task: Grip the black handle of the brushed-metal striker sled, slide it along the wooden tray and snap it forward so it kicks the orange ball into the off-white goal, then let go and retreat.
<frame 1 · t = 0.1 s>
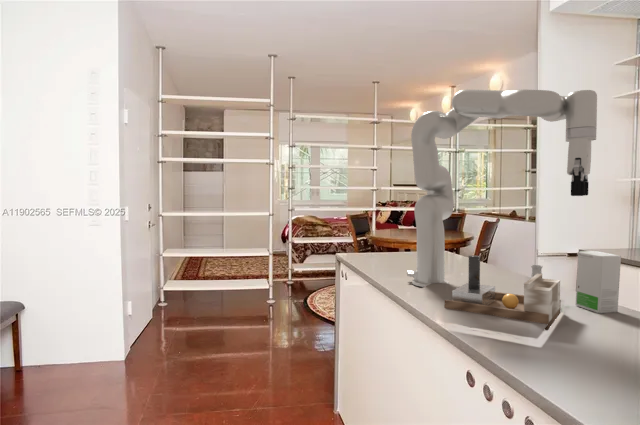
hand: (579, 195, 124), 31 cm above the counter, tool pointing down, fingers open, 9 cm apart
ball: (510, 301, 115), point 3 cm above the counter, touching wooden tray
wooden tray: (502, 312, 116), on the counter
striker sled: (474, 279, 121), point 8 cm above the counter, slide at 0.0 cm
skincare box: (597, 309, 119), on the counter
flask: (536, 298, 132), on the counter
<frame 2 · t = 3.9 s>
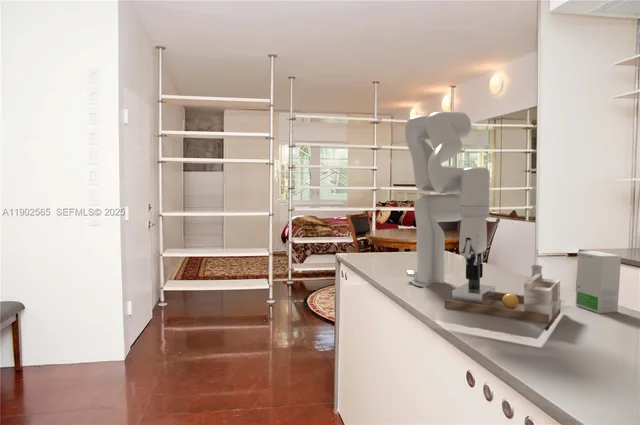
hand: (474, 277, 121), 9 cm above the counter, tool pointing down, fingers closed on striker sled, 3 cm apart
striker sled: (474, 279, 121), point 8 cm above the counter, slide at 0.0 cm, touching gripper
everything else where it was.
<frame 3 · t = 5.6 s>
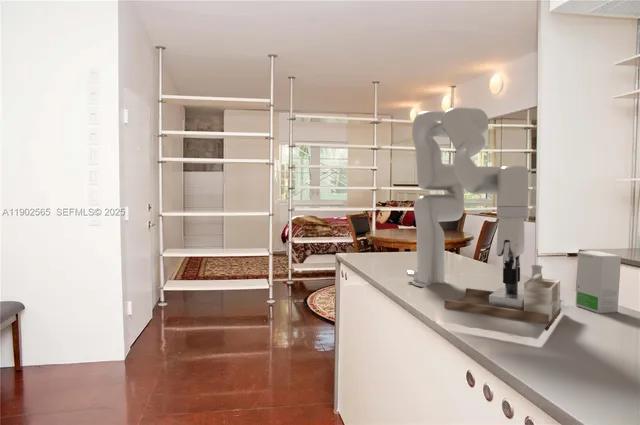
hand: (511, 281, 115), 9 cm above the counter, tool pointing down, fingers closed on striker sled, 3 cm apart
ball: (540, 305, 111), point 3 cm above the counter, tilted 163°, touching wooden tray
striker sled: (511, 283, 115), point 8 cm above the counter, slide at 9.8 cm, touching gripper
everything else where it was.
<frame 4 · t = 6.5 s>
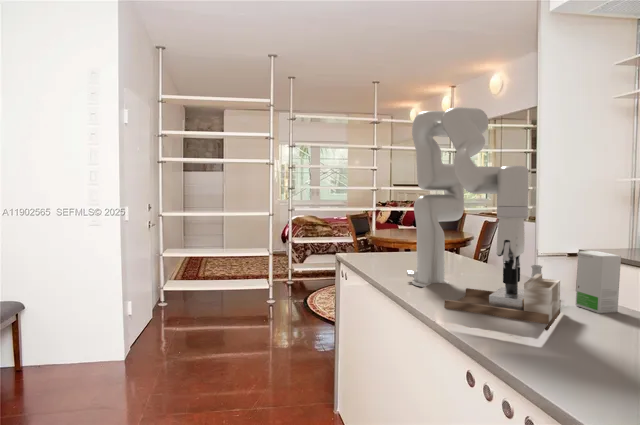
hand: (511, 281, 115), 9 cm above the counter, tool pointing down, fingers closed on striker sled, 3 cm apart
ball: (536, 304, 111), point 3 cm above the counter, tilted 170°, touching wooden tray
striker sled: (511, 283, 115), point 8 cm above the counter, slide at 9.8 cm, touching gripper
everything else where it was.
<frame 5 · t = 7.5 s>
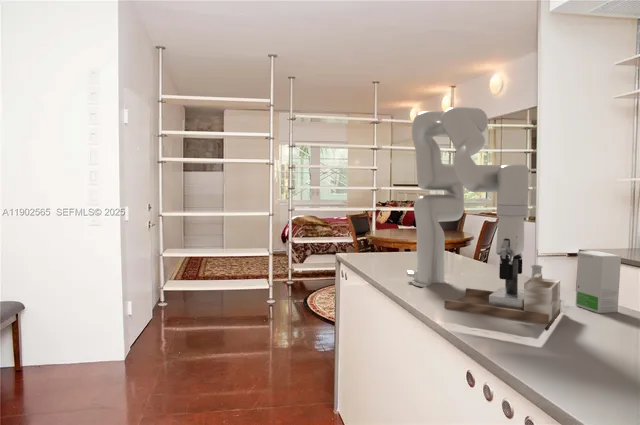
hand: (511, 276, 115), 10 cm above the counter, tool pointing down, fingers open, 9 cm apart
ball: (538, 305, 111), point 3 cm above the counter, tilted 177°, touching wooden tray
striker sled: (511, 283, 115), point 8 cm above the counter, slide at 9.8 cm
everything else where it was.
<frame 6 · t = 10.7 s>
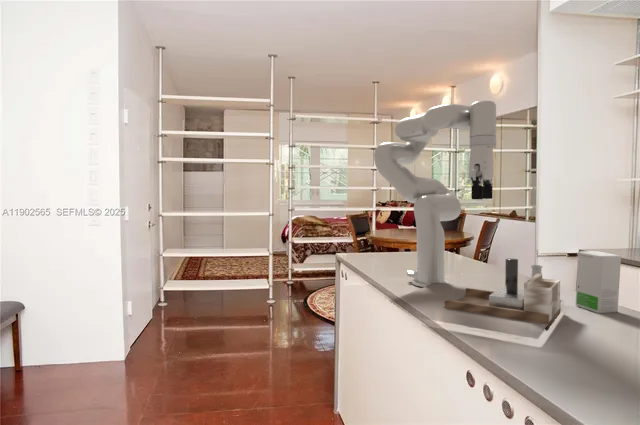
hand: (482, 199, 133), 30 cm above the counter, tool pointing down, fingers open, 9 cm apart
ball: (543, 305, 110), point 3 cm above the counter, tilted 147°, touching wooden tray
everything else where it was.
at the end: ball inside the target area on the wooden tray (0.2 cm from its centre), point 3.5 cm above the wooden tray's base; striker sled slide at 9.8 cm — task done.
